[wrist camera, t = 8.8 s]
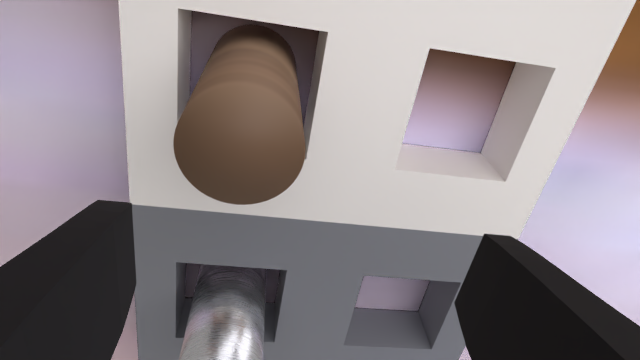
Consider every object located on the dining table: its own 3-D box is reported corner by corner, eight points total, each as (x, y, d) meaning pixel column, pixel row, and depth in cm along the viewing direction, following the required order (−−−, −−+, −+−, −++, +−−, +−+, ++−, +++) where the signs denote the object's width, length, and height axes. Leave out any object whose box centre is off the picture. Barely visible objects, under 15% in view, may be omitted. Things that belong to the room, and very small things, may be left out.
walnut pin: (290, 111, 18) (296, 209, 12) (210, 102, 17) (174, 199, 11) (300, 31, 16) (314, 96, 10) (212, 18, 16) (172, 79, 10)
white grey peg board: (432, 345, 26) (446, 383, 24) (152, 332, 24) (139, 373, 21) (591, -17, 16) (639, -7, 14) (138, -105, 14) (112, -110, 12)
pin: (263, 292, 23) (257, 425, 17) (199, 288, 22) (170, 424, 16) (269, 244, 21) (266, 372, 15) (201, 238, 21) (170, 368, 15)
